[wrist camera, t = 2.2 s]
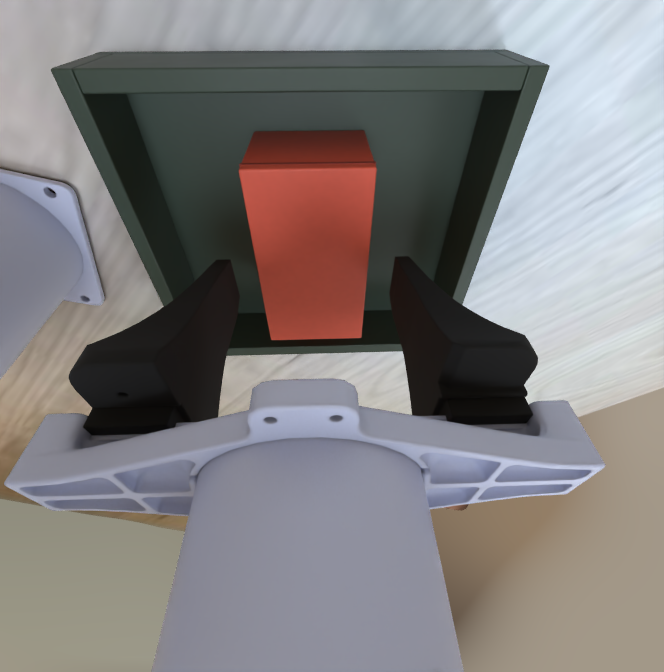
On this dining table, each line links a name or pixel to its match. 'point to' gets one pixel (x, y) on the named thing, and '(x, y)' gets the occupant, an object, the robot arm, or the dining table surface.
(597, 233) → the dining table surface
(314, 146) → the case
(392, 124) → the tote
